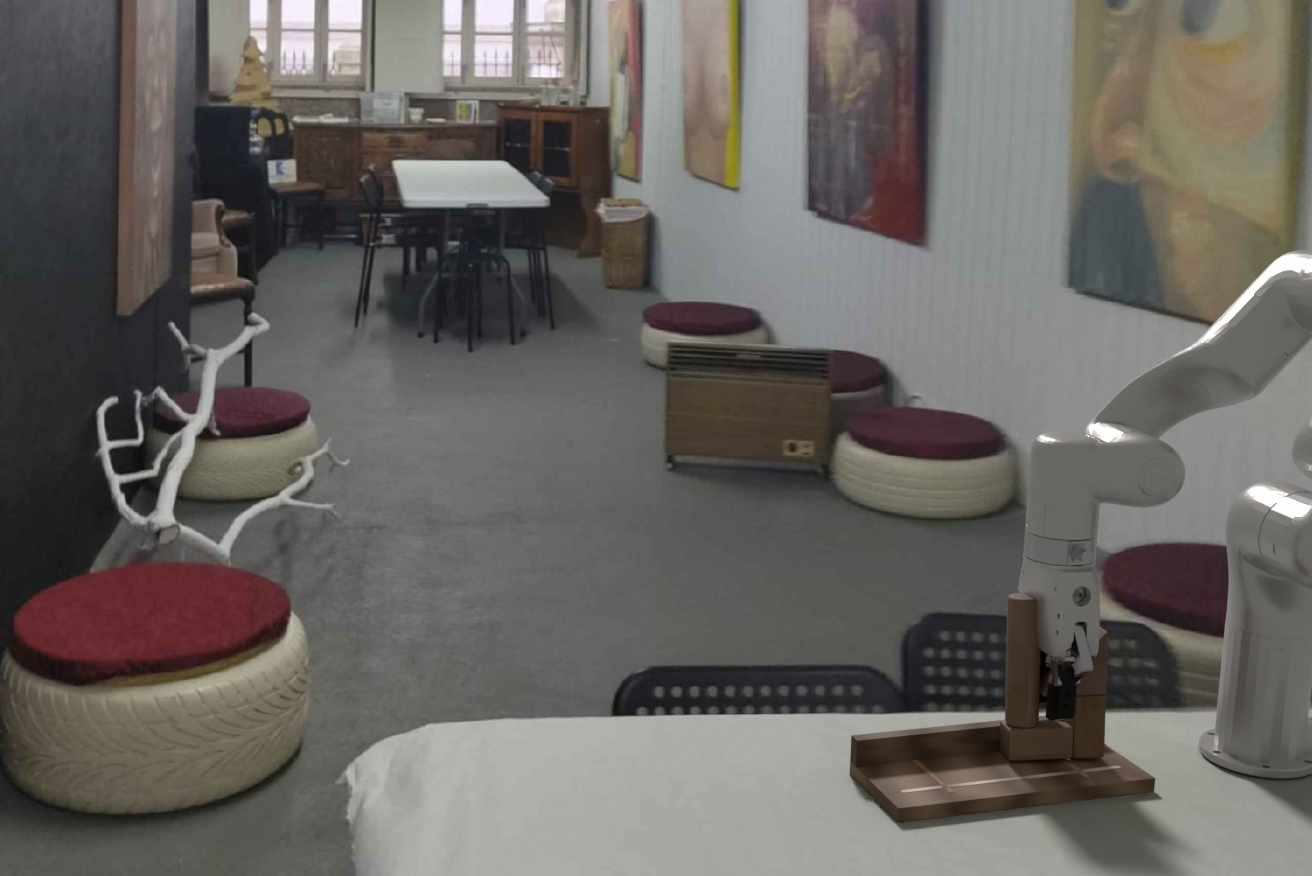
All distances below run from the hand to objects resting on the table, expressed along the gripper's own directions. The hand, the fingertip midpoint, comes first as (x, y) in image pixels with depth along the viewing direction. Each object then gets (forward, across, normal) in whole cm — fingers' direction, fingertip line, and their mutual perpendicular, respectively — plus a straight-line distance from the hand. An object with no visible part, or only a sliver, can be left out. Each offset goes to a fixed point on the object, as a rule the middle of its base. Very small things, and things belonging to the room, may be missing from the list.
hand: (1047, 708), depth 162 cm
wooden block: (+6, 0, -1) cm, 6 cm away
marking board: (+7, -2, +6) cm, 10 cm away
